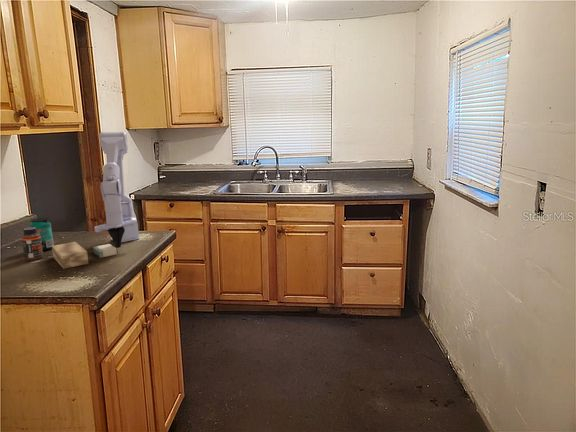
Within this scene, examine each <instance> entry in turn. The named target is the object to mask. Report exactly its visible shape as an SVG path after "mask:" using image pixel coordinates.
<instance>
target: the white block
mask: <svg viewBox="0 0 576 432" xmlns="http://www.w3.org/2000/svg"><path fill="white" fill-rule="evenodd" d="M92 249H93V253H94V254H95V255H96V256H97V257H98V258H104V257H110V256H114V255H115V256H116V255H117V254H118V252H117V248H116V247H115V245H112V244H110V243H106V244H102V245H101V244H100V245H95V246H93V247H92Z"/></svg>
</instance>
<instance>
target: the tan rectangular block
mask: <svg viewBox="0 0 576 432" xmlns="http://www.w3.org/2000/svg"><path fill="white" fill-rule="evenodd" d="M51 250H52V258H53V259H54V260H55V261H56V262H57V263H58V264H59V265H60V267H62V269H64V270H65V269H69V268H73V267H78V266H82V265H88V264H89V257H88V251H87V249H85V248H83V246H81V245H80V244H79V243H77V242H76V241H72V242H67V243H61V244H54V246H52V249H51Z"/></svg>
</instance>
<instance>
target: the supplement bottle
mask: <svg viewBox="0 0 576 432" xmlns="http://www.w3.org/2000/svg"><path fill="white" fill-rule="evenodd" d="M21 244H22V245H21V246H22V249H23V257H24V260H26V261H35V260H40V259H41V258H43V257H44V251H43V250H42V244H41V237H40V234H39V233H37V230H36V227H30V226H29V227H25V228H23V234H22V235H21Z"/></svg>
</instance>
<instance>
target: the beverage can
mask: <svg viewBox="0 0 576 432" xmlns="http://www.w3.org/2000/svg"><path fill="white" fill-rule="evenodd" d="M29 227H36V230H37V233H39V234H40V237H41V244H42V250H43V252H46V251H51V250H52V246H54V245H55V243H54V237H53V230H52V229H53V228H52V223H51V221H49V218H48V217H39V218H34V219H31V220H30V224H29Z"/></svg>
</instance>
